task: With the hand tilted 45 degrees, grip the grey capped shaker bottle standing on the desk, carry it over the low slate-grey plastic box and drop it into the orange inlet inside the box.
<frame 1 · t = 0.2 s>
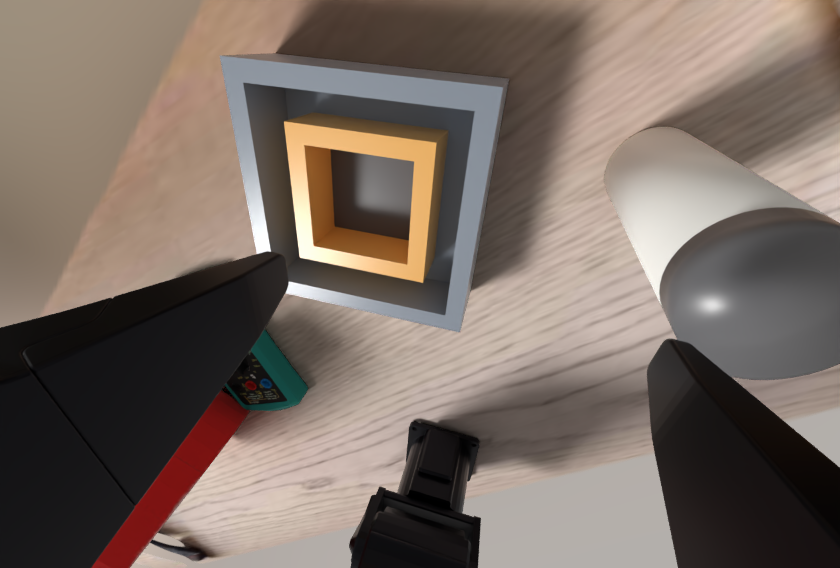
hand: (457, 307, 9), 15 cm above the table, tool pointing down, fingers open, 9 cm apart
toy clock: (221, 402, 42), on the table
grey capped shaker bottle: (651, 172, 19), on the table
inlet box: (383, 185, 24), on the table
digital multimeter: (246, 335, 36), on the table
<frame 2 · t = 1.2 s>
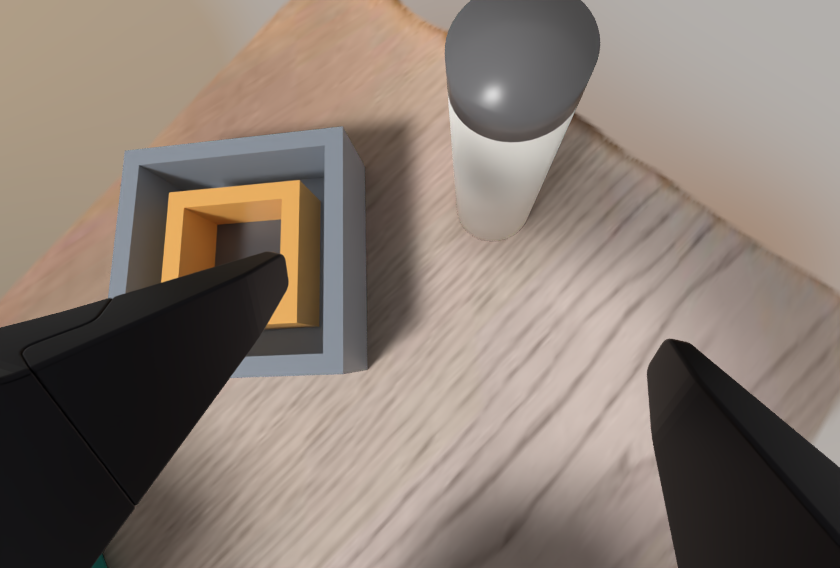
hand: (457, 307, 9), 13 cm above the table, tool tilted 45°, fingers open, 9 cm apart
grey capped shaker bottle: (492, 206, 23), on the table
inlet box: (267, 269, 24), on the table
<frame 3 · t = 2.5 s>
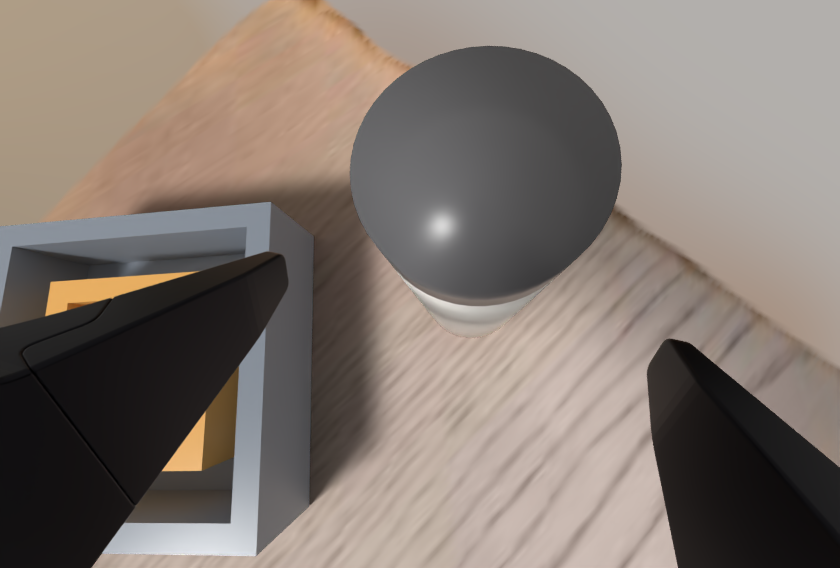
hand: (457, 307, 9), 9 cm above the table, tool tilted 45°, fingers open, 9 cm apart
grey capped shaker bottle: (470, 292, 18), on the table
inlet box: (189, 367, 19), on the table
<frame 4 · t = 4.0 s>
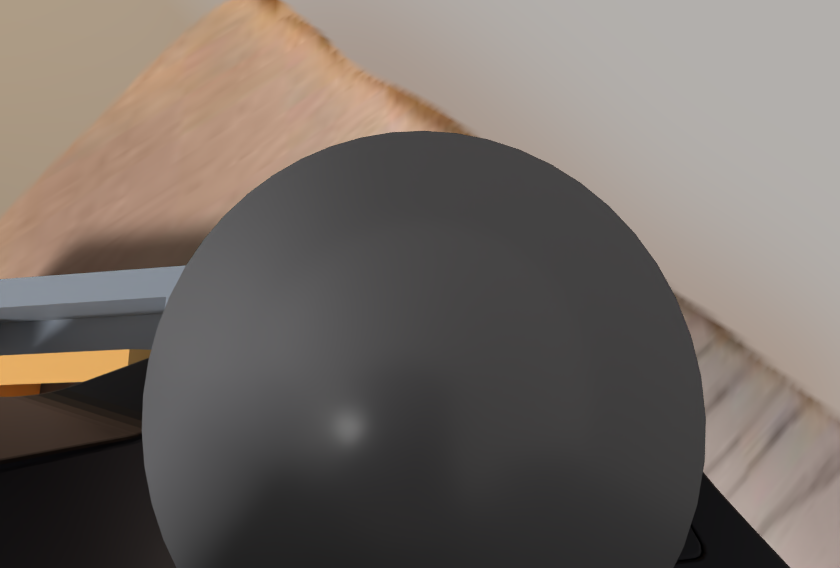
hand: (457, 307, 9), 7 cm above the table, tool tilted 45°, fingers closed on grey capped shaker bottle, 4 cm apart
grey capped shaker bottle: (453, 361, 15), on the table, touching gripper
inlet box: (118, 447, 16), on the table
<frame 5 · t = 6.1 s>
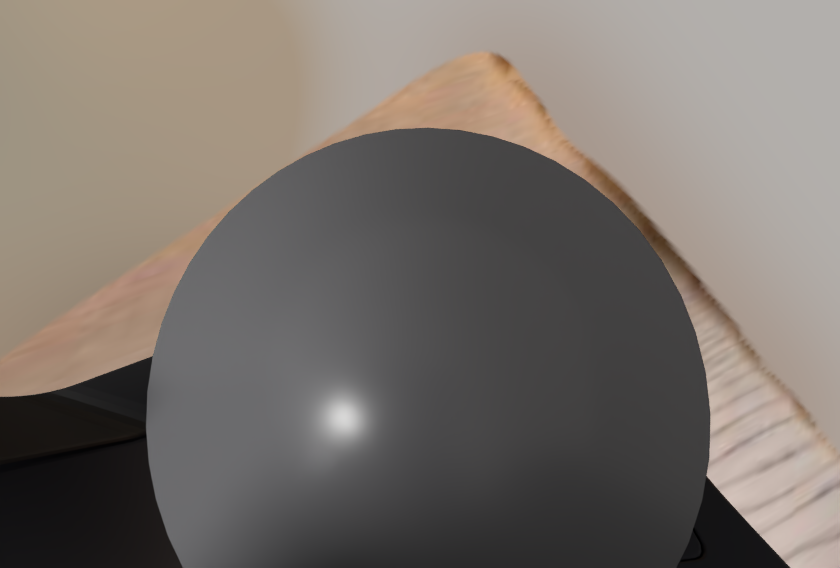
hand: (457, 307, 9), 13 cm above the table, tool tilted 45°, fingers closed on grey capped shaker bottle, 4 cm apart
grey capped shaker bottle: (454, 361, 15), point 7 cm above the table, touching gripper
when the fingers open (9 cm above the table, at t = 8.2 s): grey capped shaker bottle drops 1 cm, resting on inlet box.
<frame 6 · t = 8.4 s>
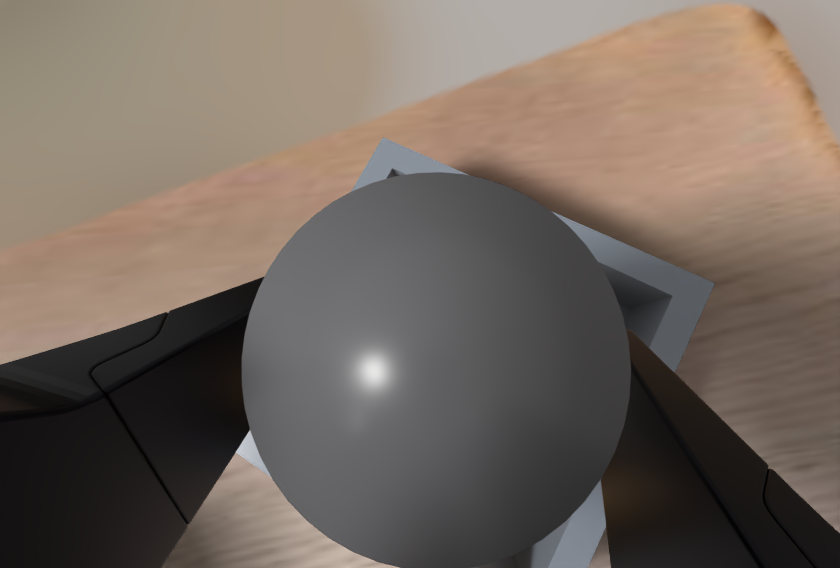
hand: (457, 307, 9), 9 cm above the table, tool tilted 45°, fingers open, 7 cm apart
grey capped shaker bottle: (455, 361, 16), point 1 cm above the table, touching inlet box
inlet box: (455, 360, 18), on the table
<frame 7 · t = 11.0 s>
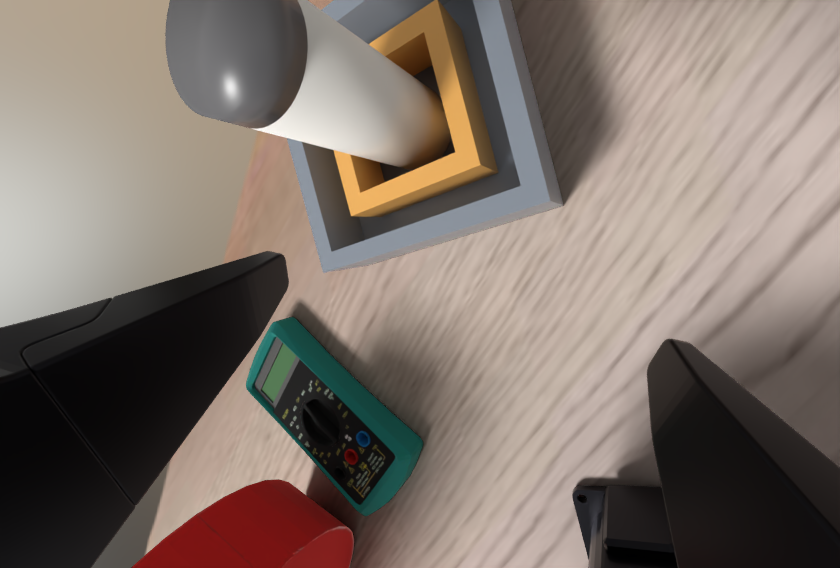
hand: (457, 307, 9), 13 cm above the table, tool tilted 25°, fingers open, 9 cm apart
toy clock: (324, 541, 32), on the table
grey capped shaker bottle: (416, 130, 22), point 1 cm above the table, touching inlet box
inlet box: (425, 134, 23), on the table
digital multimeter: (340, 402, 30), on the table
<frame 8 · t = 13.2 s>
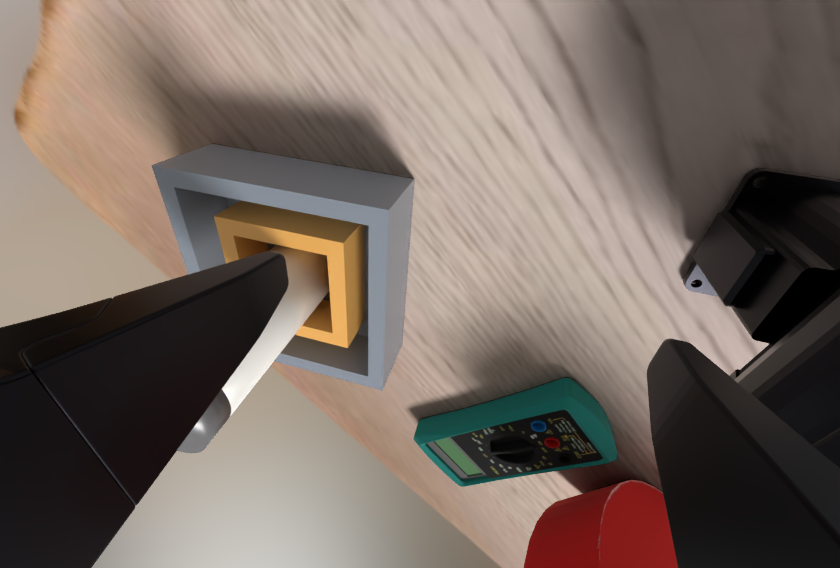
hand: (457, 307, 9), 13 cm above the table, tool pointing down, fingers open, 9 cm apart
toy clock: (634, 502, 32), on the table
grey capped shaker bottle: (309, 262, 25), point 1 cm above the table, touching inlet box
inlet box: (316, 254, 26), on the table
digital multimeter: (509, 421, 31), on the table
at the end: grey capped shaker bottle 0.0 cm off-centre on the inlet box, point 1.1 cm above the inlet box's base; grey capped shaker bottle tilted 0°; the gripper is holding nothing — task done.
